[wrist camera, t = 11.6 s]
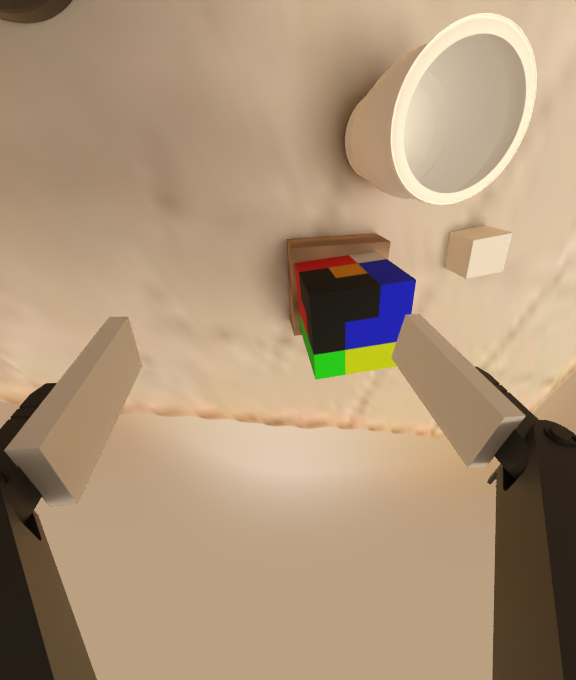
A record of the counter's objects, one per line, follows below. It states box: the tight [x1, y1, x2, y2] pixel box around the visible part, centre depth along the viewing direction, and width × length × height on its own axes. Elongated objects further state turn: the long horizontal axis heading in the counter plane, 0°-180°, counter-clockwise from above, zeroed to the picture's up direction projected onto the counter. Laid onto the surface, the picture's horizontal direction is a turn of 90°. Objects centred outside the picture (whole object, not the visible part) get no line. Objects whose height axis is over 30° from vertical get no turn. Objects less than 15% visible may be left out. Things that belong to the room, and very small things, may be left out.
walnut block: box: [287, 234, 390, 336], centre depth 39 cm, size 12×12×5 cm
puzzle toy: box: [295, 251, 416, 379], centre depth 33 cm, size 10×10×10 cm
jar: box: [345, 13, 537, 205], centre depth 26 cm, size 11×10×15 cm
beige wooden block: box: [445, 225, 513, 279], centre depth 38 cm, size 5×5×5 cm
